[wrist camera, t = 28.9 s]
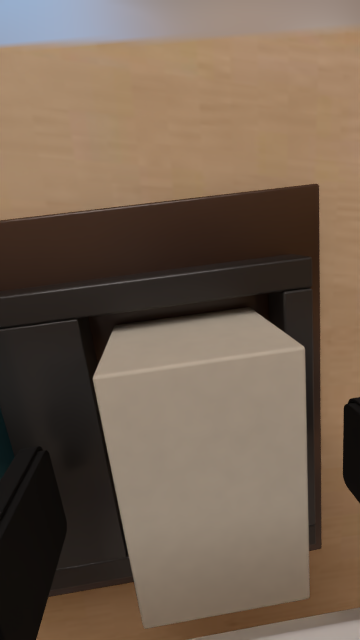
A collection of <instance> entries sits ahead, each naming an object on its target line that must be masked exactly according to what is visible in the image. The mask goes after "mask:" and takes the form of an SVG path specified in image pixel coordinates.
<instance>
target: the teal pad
mask: <svg viewBox="0 0 360 640" xmlns="http://www.w3.org/2000/svg"><path fill="white" fill-rule="evenodd" d="M13 459H14V453H13V450H12V446H11V443H10V439H9V436H8V432H7V429H6V426H5V422H4V419H3V415H2V412H1V408H0V480H1V478H2V477H3V475H4V473H5V472H6V470H7V469H8V467H9V465H10V464H11V462H12V461H13Z"/></svg>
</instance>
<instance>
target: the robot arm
mask: <svg viewBox="0 0 360 640" xmlns="http://www.w3.org/2000/svg"><path fill="white" fill-rule="evenodd" d="M343 478H344V481H345V484H346V486H347V487H348V489H349V490H350V491H351V492H352V494H353V495H354V496H355V498H356V499H357V500H358V501H359V503H360V397H359V398H352V399H350V400H349V402H348V404H346V405H345V406H344V438H343ZM66 533H67V520H66V516H65V512H64V508H63V504H62V500H61V497H60V493H59V489H58V485H57V481H56V477H55V473H54V469H53V466H52V462H51V458H50V454H49V452H48V451H47V450H44V451H43V449H42V447H40V446H38V447H31V448H25V449H20V450H19V451H18V453H17V454H16V456H15V457H14V459H13V461H12V462H11V464H10V465H9V467H8V469H7V470H6V472H5V473H4V475H3V477H2V478H1V480H0V640H36V638H37V634H38V631H39V627H40V624H41V620H42V617H43V613H44V610H45V606H46V603H47V599H48V596H49V593H50V589H51V586H52V582H53V579H54V575H55V572H56V568H57V565H58V561H59V558H60V554H61V551H62V547H63V544H64V540H65V537H66ZM188 640H360V607H359V608H354V609H348V610H343V611H337V612H332V613H326V614H321V615H315V616H310V617H305V618H299V619H294V620H289V621H283V622H278V623H272V624H267V625H262V626H256V627H251V628H246V629H240V630H235V631H230V632H225V633H219V634H214V635H209V636H203V637H198V638H193V639H188Z"/></svg>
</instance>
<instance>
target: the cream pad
mask: <svg viewBox="0 0 360 640" xmlns="http://www.w3.org/2000/svg"><path fill="white" fill-rule="evenodd" d="M93 383H94V388H95V393H96V398H97V403H98V408H99V413H100V418H101V422H102V427H103V432H104V437H105V442H106V447H107V452H108V457H109V462H110V467H111V472H112V476H113V481H114V486H115V491H116V496H117V501H118V506H119V511H120V516H121V521H122V526H123V531H124V535H125V540H126V545H127V550H128V555H129V560H130V565H131V570H132V575H133V580H134V585H135V589H136V594H137V599H138V604H139V609H140V614H141V619H142V624H143V627H144V628H146V629H147V628H153V627H158V626H163V625H169V624H174V623H180V622H185V621H191V620H196V619H201V618H207V617H212V616H218V615H223V614H229V613H234V612H239V611H245V610H250V609H256V608H261V607H266V606H272V605H277V604H283V603H288V602H294V601H299V600H304V599H308V598H309V597H310V578H309V526H308V474H307V423H306V371H305V348H304V346H303V345H301V344H300V343H299V342H297V341H296V340H294V339H293V338H292V337H290V336H289V335H287V334H286V333H285V332H283V331H282V330H280V329H279V328H278V327H276V326H275V325H274V324H272V323H271V322H269V321H268V320H267V319H265V318H264V317H262V316H261V315H260V314H258V313H257V312H255V311H254V310H253V309H251V308H249V307H246V308H239V309H231V310H224V311H217V312H209V313H202V314H194V315H187V316H180V317H172V318H165V319H157V320H150V321H143V322H135V323H128V324H120V325H115V326H114V328H113V331H112V333H111V335H110V338H109V340H108V343H107V345H106V347H105V350H104V352H103V355H102V357H101V359H100V362H99V364H98V366H97V369H96V371H95V374H94V376H93Z"/></svg>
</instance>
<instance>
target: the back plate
mask: <svg viewBox="0 0 360 640" xmlns="http://www.w3.org/2000/svg"><path fill="white" fill-rule="evenodd" d="M246 307H249V308H251V309H253V310H254V311H255V312H257V313H258V314H260V315H261V316H262V317H264V318H265V319H267V320H268V321H269V322H271V323H272V324H274V325H275V326H276V327H278V328H279V329H280V330H282V331H283V332H285V333H286V334H287V335H289V336H290V337H292V338H293V339H294V340H296V341H297V342H299V343H300V344H301V345H303V346H304V348H305V371H306V423H307V474H308V526H309V551H311V550H317V549H321V424H320V277H319V185H318V184H310V185H301V186H293V187H284V188H275V189H267V190H258V191H250V192H241V193H232V194H224V195H215V196H207V197H198V198H189V199H181V200H172V201H164V202H155V203H147V204H138V205H129V206H121V207H112V208H104V209H95V210H86V211H78V212H69V213H61V214H52V215H43V216H35V217H26V218H18V219H9V220H1V221H0V408H1V412H2V415H3V419H4V422H5V426H6V429H7V432H8V436H9V439H10V443H11V446H12V450H13V453H14V457H15V456H16V454H17V453H18V451H19V450H20V449H25V448H31V447H38V446H40V447H42V449H43V451H44V450H47V451H48V452H49V454H50V458H51V462H52V466H53V469H54V473H55V477H56V481H57V485H58V489H59V493H60V497H61V500H62V504H63V508H64V512H65V516H66V520H67V533H66V537H65V540H64V544H63V547H62V551H61V554H60V558H59V561H58V565H57V568H56V572H55V575H54V579H53V582H52V586H51V589H50V593H49V596H48V597H51V596H56V595H62V594H68V593H73V592H79V591H85V590H90V589H96V588H102V587H107V586H113V585H119V584H124V583H130V582H134V580H133V575H132V570H131V565H130V560H129V555H128V550H127V545H126V540H125V535H124V531H123V526H122V521H121V516H120V511H119V506H118V501H117V496H116V491H115V486H114V481H113V476H112V472H111V467H110V462H109V457H108V452H107V447H106V442H105V437H104V432H103V427H102V422H101V418H100V413H99V408H98V403H97V398H96V393H95V388H94V383H93V376H94V374H95V371H96V369H97V366H98V364H99V362H100V359H101V357H102V355H103V352H104V350H105V347H106V345H107V343H108V340H109V338H110V335H111V333H112V331H113V328H114V326H115V325H120V324H128V323H135V322H143V321H150V320H157V319H165V318H172V317H180V316H187V315H194V314H202V313H209V312H217V311H224V310H231V309H239V308H246Z"/></svg>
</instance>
